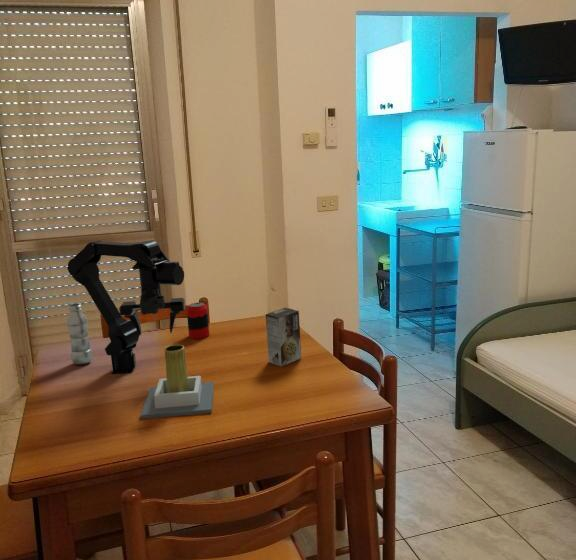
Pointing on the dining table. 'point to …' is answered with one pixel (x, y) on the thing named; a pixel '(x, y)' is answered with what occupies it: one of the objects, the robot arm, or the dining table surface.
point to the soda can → (198, 320)
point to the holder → (179, 399)
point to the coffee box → (283, 336)
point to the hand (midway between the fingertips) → (155, 333)
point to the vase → (176, 369)
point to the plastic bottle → (78, 335)
